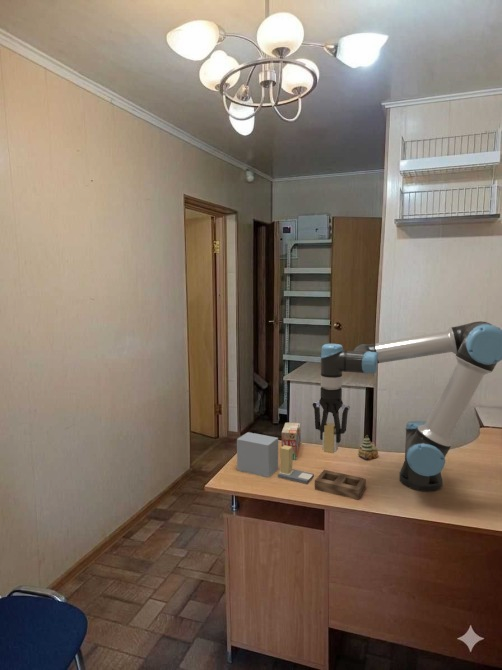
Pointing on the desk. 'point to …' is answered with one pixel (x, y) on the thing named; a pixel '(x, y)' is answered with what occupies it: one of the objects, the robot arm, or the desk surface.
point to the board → (295, 476)
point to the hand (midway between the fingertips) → (330, 449)
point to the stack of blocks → (292, 437)
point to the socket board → (340, 484)
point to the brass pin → (329, 437)
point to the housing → (257, 454)
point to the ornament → (367, 449)
